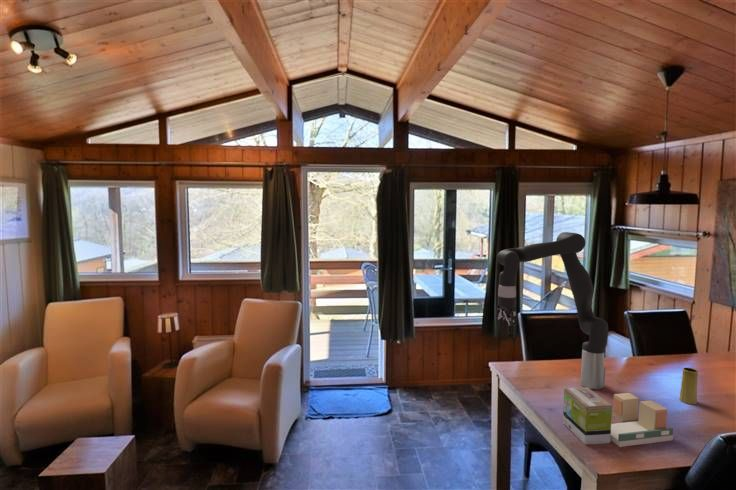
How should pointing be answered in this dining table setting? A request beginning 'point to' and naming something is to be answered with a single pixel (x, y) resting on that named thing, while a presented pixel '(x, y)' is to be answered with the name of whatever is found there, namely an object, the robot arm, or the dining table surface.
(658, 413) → the faced carton
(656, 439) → the white flat slab
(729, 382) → the dining table surface
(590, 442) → the tea box
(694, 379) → the vase
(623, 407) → the carton
